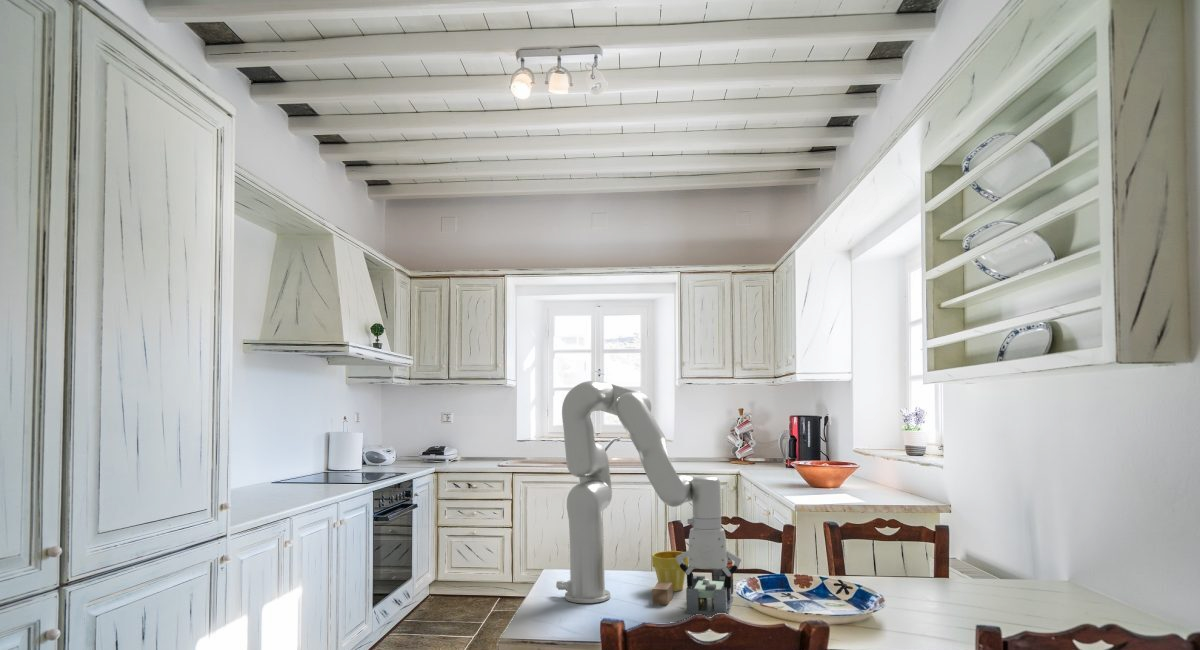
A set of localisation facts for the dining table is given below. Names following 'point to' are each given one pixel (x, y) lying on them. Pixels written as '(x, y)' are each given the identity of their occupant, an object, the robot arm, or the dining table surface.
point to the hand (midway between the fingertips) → (709, 590)
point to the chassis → (708, 600)
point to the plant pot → (669, 568)
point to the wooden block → (662, 593)
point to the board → (708, 587)
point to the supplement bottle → (722, 573)
